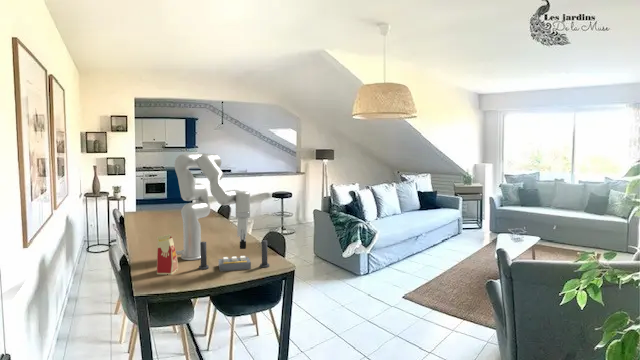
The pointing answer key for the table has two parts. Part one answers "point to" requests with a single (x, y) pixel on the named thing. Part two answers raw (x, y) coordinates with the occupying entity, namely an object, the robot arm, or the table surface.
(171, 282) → the table surface
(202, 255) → the post
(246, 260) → the switch panel
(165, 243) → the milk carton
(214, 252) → the table surface
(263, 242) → the right cable post
